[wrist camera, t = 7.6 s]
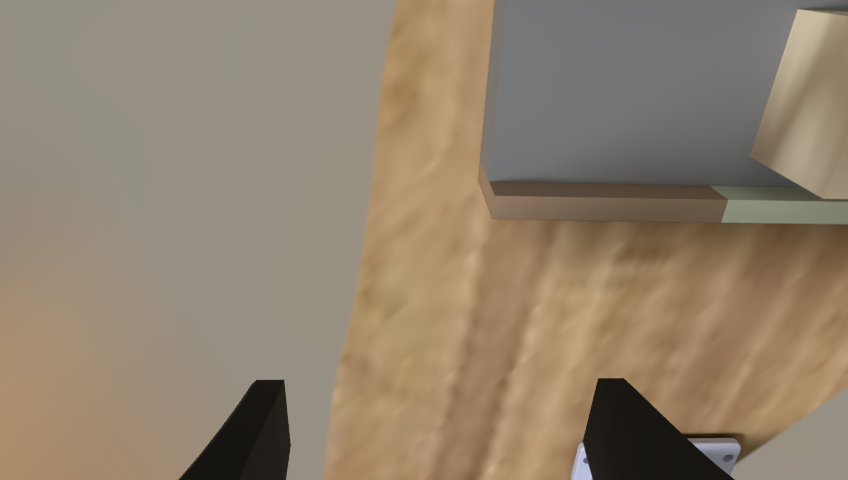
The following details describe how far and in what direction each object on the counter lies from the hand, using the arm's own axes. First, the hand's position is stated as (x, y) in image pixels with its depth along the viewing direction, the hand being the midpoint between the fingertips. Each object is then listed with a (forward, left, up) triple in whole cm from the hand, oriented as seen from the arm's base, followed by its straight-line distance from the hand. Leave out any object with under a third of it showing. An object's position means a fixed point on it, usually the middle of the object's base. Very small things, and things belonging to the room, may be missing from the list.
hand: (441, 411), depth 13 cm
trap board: (+6, -12, -9) cm, 16 cm away
